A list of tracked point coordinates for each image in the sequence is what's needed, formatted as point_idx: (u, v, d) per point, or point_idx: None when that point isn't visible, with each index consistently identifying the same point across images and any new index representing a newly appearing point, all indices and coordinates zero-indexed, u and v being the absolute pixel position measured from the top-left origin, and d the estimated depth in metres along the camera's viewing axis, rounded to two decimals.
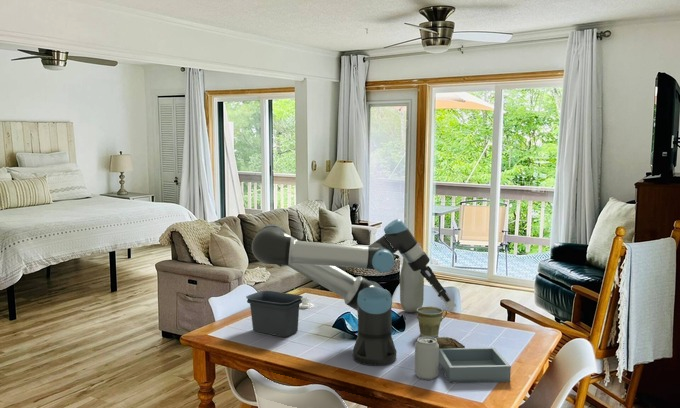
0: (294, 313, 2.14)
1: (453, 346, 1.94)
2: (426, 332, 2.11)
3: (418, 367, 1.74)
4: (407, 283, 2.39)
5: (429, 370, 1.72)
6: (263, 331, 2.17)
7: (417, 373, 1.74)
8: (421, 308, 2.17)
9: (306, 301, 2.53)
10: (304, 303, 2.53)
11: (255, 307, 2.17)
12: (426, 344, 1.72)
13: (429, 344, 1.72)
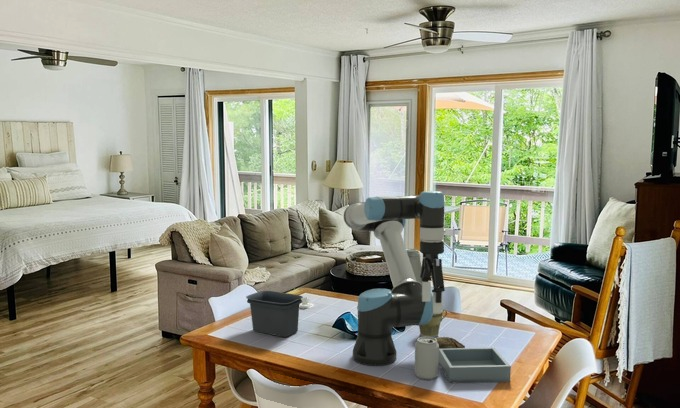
0: (294, 313, 2.14)
1: (453, 346, 1.94)
2: (426, 332, 2.11)
3: (418, 367, 1.74)
4: None
5: (429, 370, 1.72)
6: (263, 331, 2.17)
7: (417, 373, 1.74)
8: None
9: (306, 301, 2.53)
10: (304, 303, 2.53)
11: (255, 307, 2.17)
12: (426, 344, 1.72)
13: (429, 344, 1.72)
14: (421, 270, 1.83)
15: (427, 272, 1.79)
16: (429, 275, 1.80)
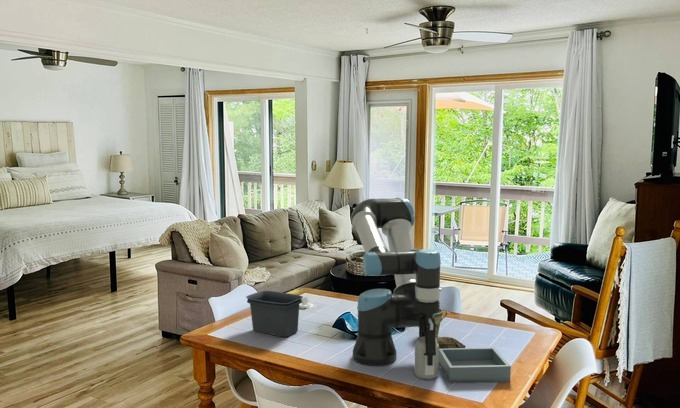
0: (294, 313, 2.14)
1: (454, 346, 1.95)
2: None
3: (418, 367, 1.74)
4: None
5: None
6: (263, 331, 2.17)
7: (417, 373, 1.74)
8: None
9: (305, 301, 2.53)
10: (303, 303, 2.53)
11: (255, 307, 2.17)
12: None
13: None
14: (419, 331, 1.82)
15: (424, 332, 1.78)
16: None
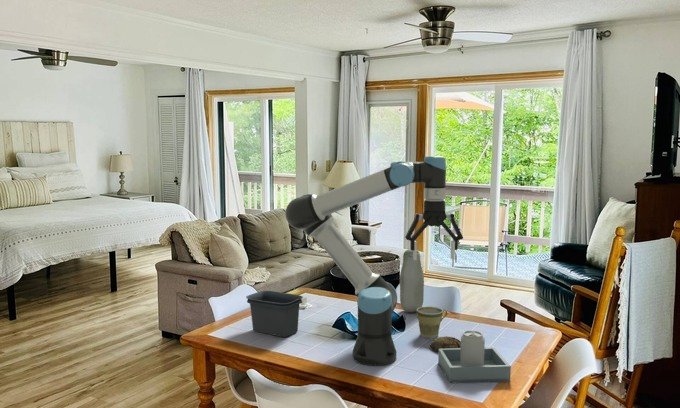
0: (294, 313, 2.14)
1: (455, 345, 1.95)
2: (426, 332, 2.11)
3: None
4: (407, 283, 2.39)
5: (460, 359, 1.79)
6: (263, 331, 2.17)
7: None
8: (421, 308, 2.17)
9: (304, 301, 2.53)
10: (302, 303, 2.53)
11: (255, 307, 2.17)
12: (463, 334, 1.78)
13: (463, 335, 1.78)
14: None
15: (446, 230, 1.97)
16: (449, 234, 1.96)
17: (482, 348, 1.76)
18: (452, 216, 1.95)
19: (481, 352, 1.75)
